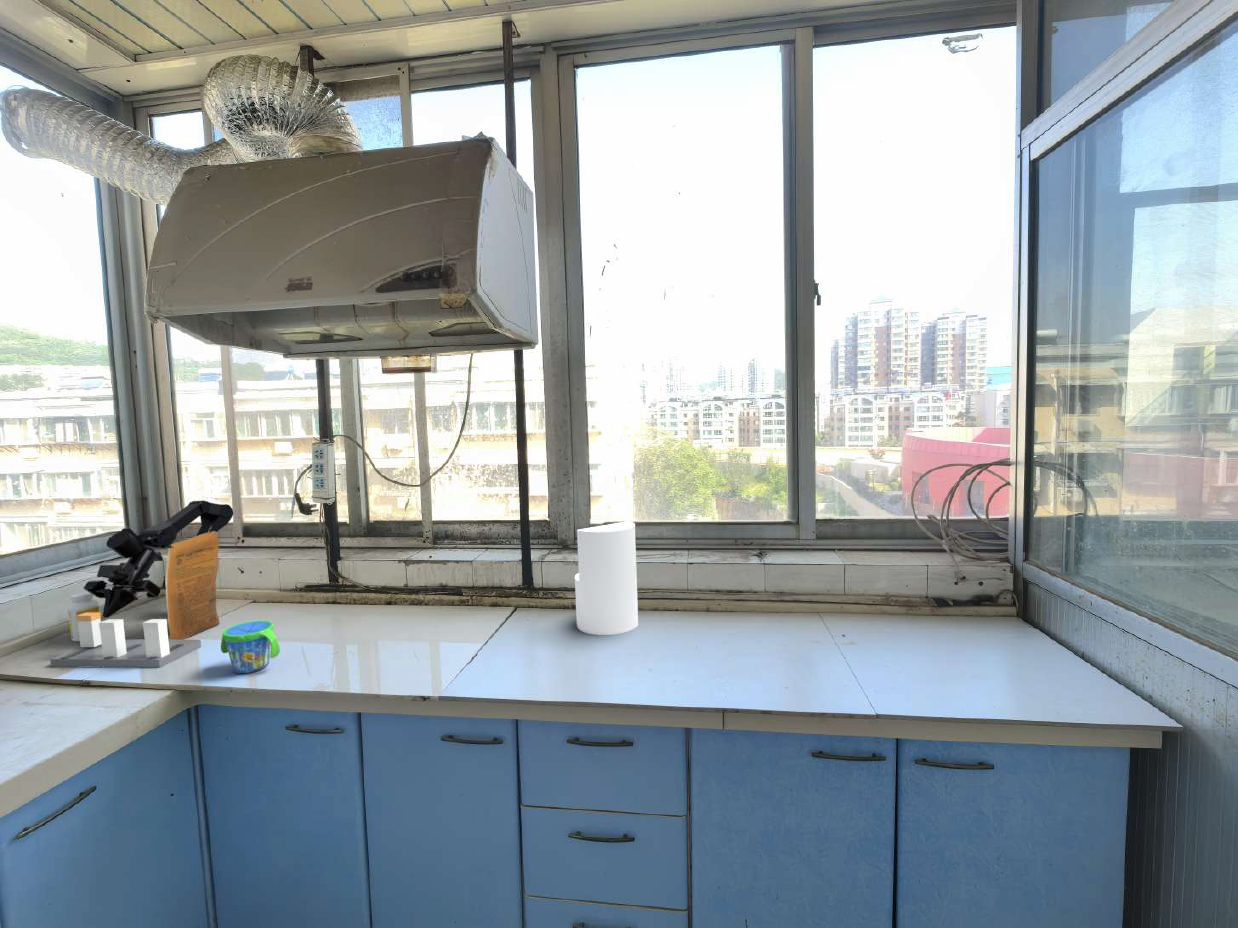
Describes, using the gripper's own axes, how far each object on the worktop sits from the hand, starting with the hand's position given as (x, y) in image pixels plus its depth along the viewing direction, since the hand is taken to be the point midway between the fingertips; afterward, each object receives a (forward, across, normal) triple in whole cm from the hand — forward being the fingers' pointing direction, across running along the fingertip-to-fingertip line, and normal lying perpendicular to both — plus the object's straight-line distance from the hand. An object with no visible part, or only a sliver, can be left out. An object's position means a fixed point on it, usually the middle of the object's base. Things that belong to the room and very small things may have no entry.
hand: (104, 617), depth 162 cm
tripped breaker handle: (+7, 0, +1) cm, 7 cm away
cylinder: (-7, +135, +19) cm, 137 cm away
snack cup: (+15, +51, -2) cm, 53 cm away
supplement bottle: (+1, -14, +11) cm, 18 cm away
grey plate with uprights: (+10, +12, +2) cm, 15 cm away
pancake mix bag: (-3, +16, +15) cm, 22 cm away
